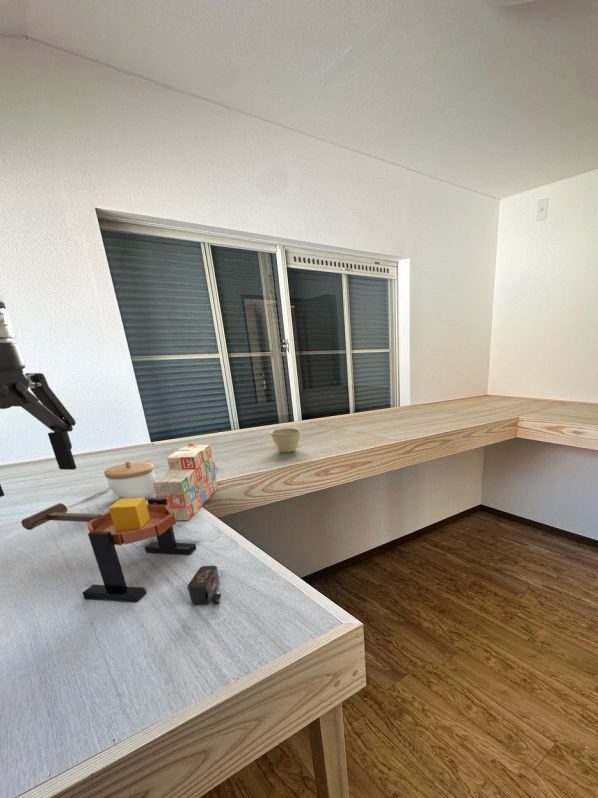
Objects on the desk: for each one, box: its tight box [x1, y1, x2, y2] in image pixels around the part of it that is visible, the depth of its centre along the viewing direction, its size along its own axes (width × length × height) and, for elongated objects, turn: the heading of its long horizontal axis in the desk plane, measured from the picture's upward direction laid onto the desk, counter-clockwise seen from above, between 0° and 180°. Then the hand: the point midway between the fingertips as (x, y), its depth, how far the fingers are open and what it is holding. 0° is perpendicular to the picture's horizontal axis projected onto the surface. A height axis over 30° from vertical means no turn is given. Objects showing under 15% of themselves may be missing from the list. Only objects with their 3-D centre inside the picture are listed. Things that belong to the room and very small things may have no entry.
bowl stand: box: [81, 497, 197, 603], centre depth 71 cm, size 9×18×11 cm, turn 173°
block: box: [108, 498, 150, 530], centre depth 69 cm, size 4×4×4 cm
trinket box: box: [103, 461, 156, 499], centre depth 105 cm, size 11×11×9 cm
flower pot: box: [270, 427, 301, 453], centre depth 147 cm, size 10×10×7 cm
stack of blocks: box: [153, 444, 218, 521], centre depth 100 cm, size 21×6×12 cm, turn 4°
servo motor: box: [187, 565, 222, 606], centre depth 66 cm, size 5×7×3 cm, turn 3°
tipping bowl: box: [20, 502, 177, 546], centre depth 70 cm, size 23×13×2 cm, turn 83°
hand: (34, 481), depth 68 cm, fingers open, 13 cm apart
